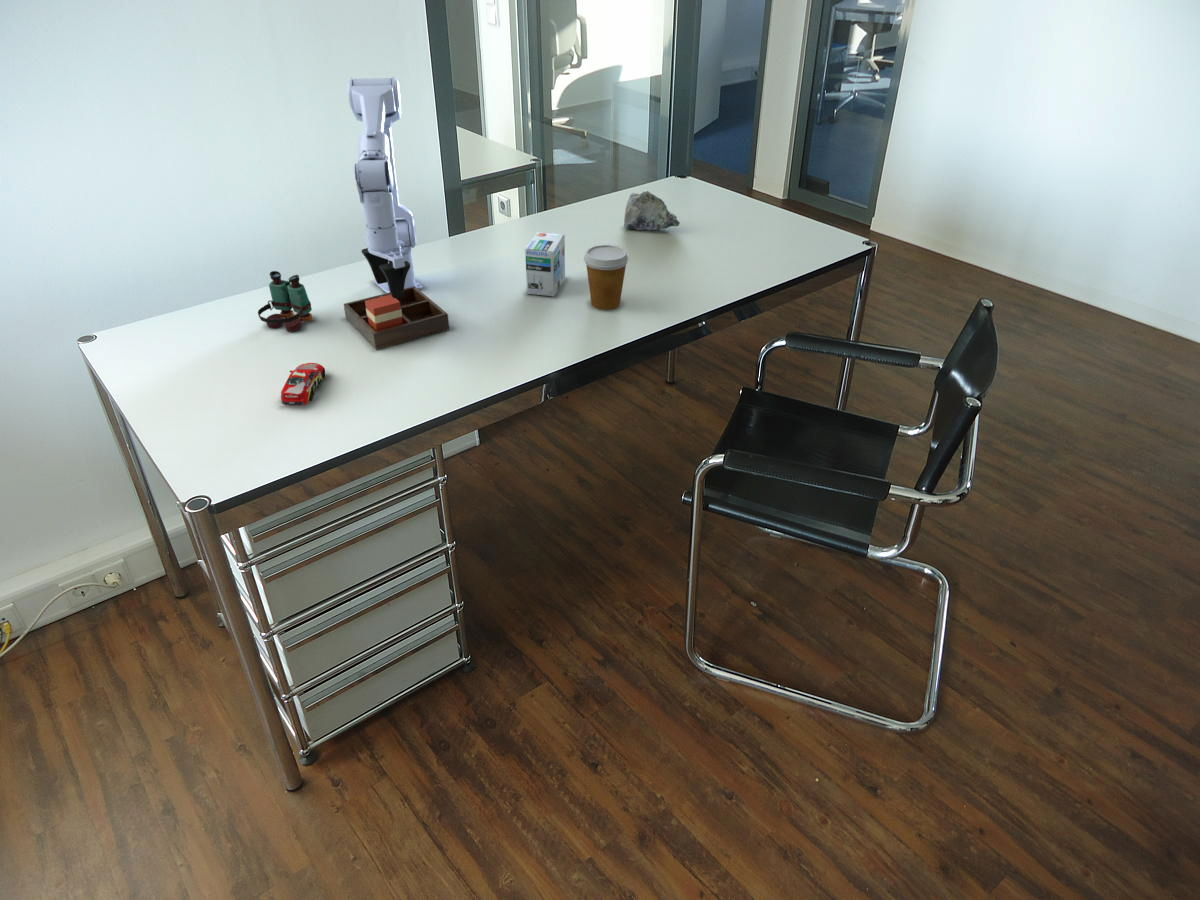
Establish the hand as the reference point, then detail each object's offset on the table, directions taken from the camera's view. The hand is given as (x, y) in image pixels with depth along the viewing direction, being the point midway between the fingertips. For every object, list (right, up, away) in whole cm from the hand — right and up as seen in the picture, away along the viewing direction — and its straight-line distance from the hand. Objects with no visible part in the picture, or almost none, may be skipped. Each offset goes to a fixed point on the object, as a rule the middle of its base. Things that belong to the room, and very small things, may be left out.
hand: (389, 289), depth 171 cm
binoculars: (-23, -6, +7) cm, 25 cm away
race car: (-12, -21, -14) cm, 28 cm away
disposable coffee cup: (+43, 0, +17) cm, 46 cm away
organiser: (0, -6, +8) cm, 10 cm away
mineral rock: (+55, +26, +53) cm, 81 cm away
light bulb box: (+30, +5, +24) cm, 39 cm away
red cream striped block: (-1, -8, +3) cm, 9 cm away
